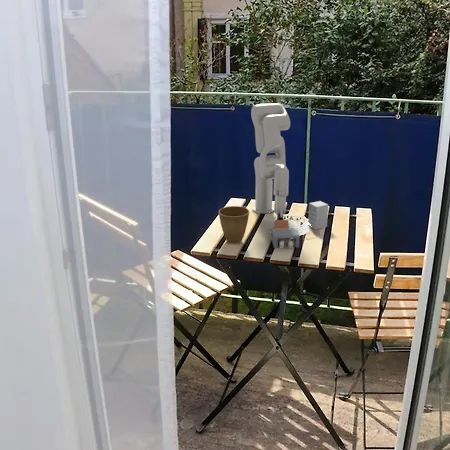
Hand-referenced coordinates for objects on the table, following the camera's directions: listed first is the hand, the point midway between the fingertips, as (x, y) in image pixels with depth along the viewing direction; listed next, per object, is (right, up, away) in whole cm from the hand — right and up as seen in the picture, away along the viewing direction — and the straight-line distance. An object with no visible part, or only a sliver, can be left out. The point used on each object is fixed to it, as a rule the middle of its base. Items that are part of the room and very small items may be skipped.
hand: (279, 225), depth 295 cm
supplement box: (+20, -1, +2) cm, 20 cm away
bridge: (0, -8, -16) cm, 18 cm away
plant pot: (-25, -8, -17) cm, 31 cm away
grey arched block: (0, -5, -10) cm, 11 cm away
